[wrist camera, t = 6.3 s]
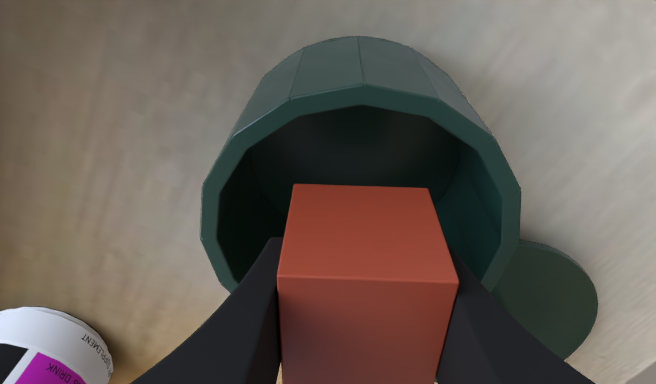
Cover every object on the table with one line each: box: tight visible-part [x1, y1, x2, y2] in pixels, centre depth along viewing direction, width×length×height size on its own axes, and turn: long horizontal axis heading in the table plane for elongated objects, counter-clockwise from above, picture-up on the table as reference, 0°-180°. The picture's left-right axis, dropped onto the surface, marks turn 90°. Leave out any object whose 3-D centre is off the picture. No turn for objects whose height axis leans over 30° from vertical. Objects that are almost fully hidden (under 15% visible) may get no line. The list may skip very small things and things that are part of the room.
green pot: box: [200, 36, 521, 293], centre depth 17 cm, size 10×10×6 cm
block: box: [277, 184, 459, 384], centre depth 13 cm, size 4×4×4 cm
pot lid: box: [435, 240, 598, 382], centre depth 23 cm, size 11×11×5 cm
